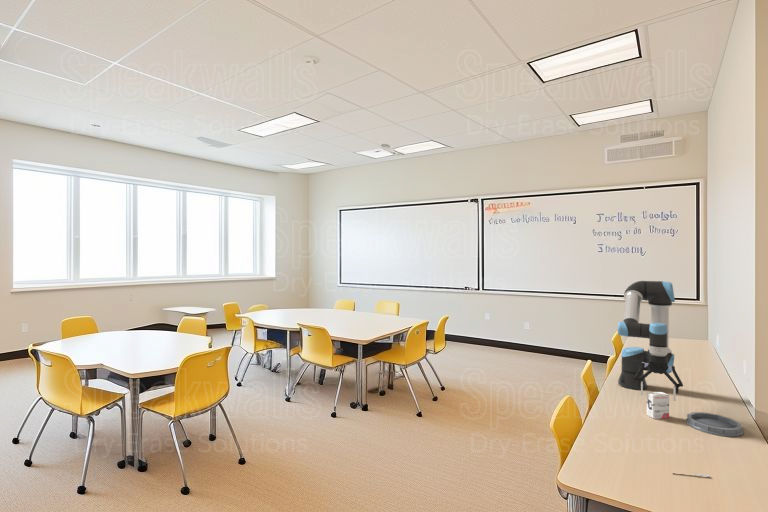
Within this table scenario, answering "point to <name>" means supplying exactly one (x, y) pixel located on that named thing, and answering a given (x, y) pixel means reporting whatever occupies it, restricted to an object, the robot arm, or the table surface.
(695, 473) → the grey thin rod
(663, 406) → the ink box
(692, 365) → the table surface
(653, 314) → the robot arm
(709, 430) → the round bowl
